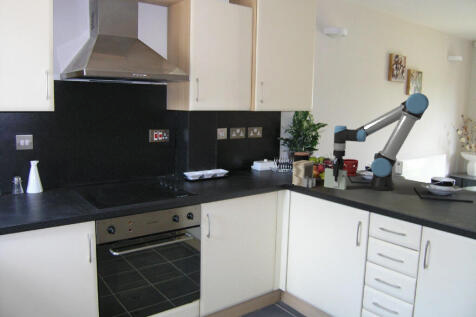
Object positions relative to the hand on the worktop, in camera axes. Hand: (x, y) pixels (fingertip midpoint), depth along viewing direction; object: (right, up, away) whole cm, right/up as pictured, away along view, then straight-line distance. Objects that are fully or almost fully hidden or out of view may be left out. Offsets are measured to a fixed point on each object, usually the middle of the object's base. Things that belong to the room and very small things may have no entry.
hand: (337, 185), depth 255 cm
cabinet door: (-1, -2, +1) cm, 2 cm away
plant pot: (+21, +5, +48) cm, 53 cm away
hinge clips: (-17, -1, +4) cm, 18 cm away
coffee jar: (-18, +3, +35) cm, 39 cm away
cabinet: (-21, 0, +12) cm, 24 cm away
